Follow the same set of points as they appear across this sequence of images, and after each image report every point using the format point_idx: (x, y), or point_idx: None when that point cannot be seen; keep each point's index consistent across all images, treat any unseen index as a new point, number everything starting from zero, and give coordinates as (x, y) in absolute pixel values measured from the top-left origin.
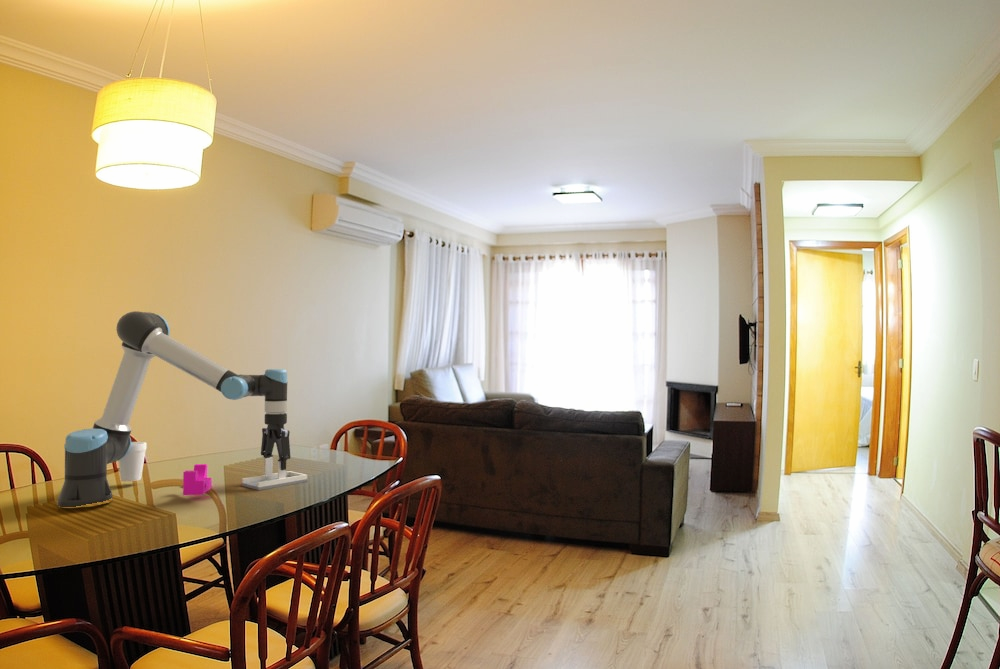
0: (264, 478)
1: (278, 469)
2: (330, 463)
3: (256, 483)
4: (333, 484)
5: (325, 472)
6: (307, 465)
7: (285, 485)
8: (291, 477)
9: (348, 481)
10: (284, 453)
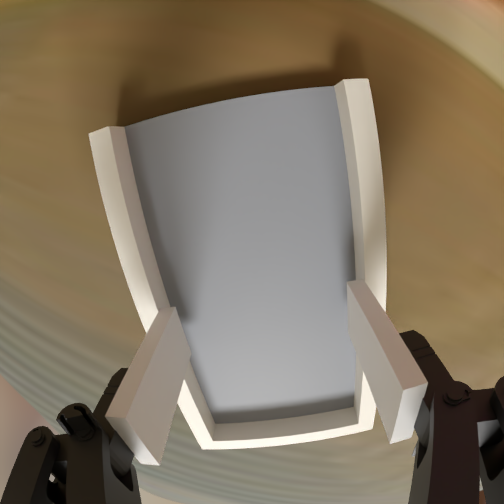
0: (358, 271)
1: (142, 357)
2: None
3: (258, 162)
4: None
5: (342, 487)
6: None
7: None
8: None
9: (137, 474)
10: (15, 473)
